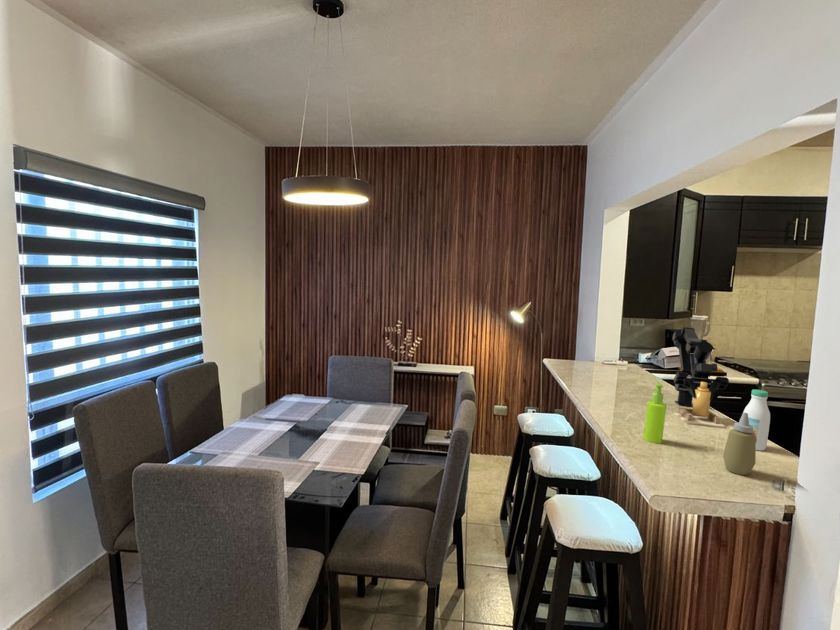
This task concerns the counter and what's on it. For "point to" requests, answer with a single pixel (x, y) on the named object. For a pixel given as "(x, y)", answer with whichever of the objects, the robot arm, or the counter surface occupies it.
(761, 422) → the milk bottle
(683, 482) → the counter surface
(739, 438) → the squeeze bottle
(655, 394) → the soap dispenser
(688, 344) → the robot arm
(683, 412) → the u rest
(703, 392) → the amber bottle
